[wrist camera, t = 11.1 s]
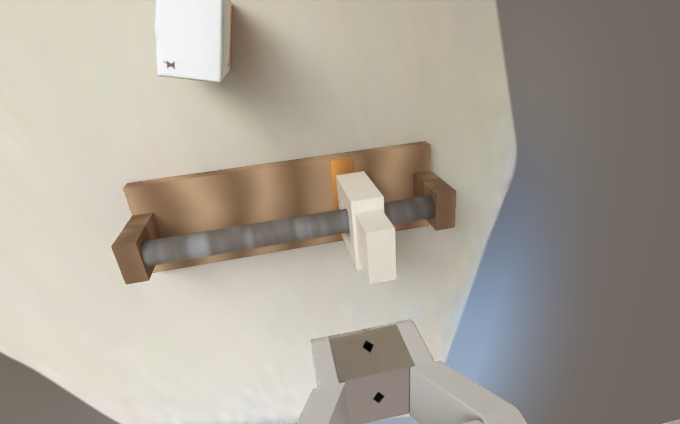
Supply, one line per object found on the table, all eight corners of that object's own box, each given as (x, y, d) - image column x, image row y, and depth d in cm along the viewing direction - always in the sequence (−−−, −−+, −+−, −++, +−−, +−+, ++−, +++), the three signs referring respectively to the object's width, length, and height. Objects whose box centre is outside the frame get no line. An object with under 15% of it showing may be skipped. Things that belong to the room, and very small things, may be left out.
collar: (341, 235, 44) (366, 295, 34) (335, 175, 41) (361, 221, 31) (367, 231, 44) (400, 288, 34) (363, 171, 41) (398, 215, 31)
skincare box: (231, 71, 37) (221, 86, 27) (184, 64, 36) (154, 77, 26) (234, 0, 35) (224, -15, 24) (183, -9, 34) (150, -29, 23)
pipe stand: (155, 265, 44) (136, 310, 37) (127, 183, 40) (99, 215, 33) (424, 220, 48) (453, 252, 41) (425, 141, 44) (457, 162, 37)
